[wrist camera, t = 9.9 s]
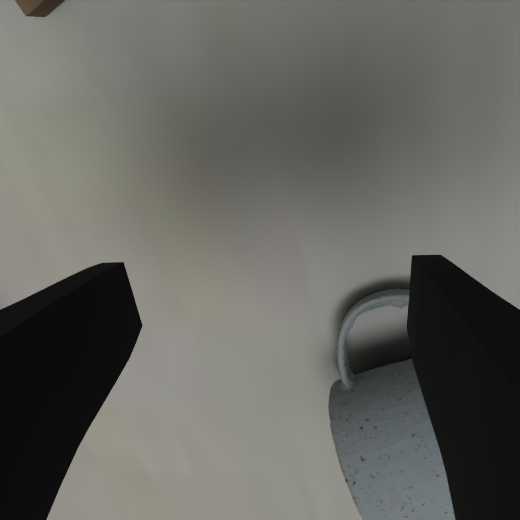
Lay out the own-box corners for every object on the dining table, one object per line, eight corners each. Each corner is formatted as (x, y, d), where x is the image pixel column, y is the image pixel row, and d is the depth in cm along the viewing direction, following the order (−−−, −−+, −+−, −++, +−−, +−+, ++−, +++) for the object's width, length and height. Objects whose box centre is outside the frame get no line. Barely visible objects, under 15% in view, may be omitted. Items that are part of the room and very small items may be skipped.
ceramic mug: (524, 404, 23) (603, 556, 16) (383, 441, 26) (400, 583, 19) (449, 250, 19) (508, 362, 13) (297, 314, 22) (280, 432, 16)
